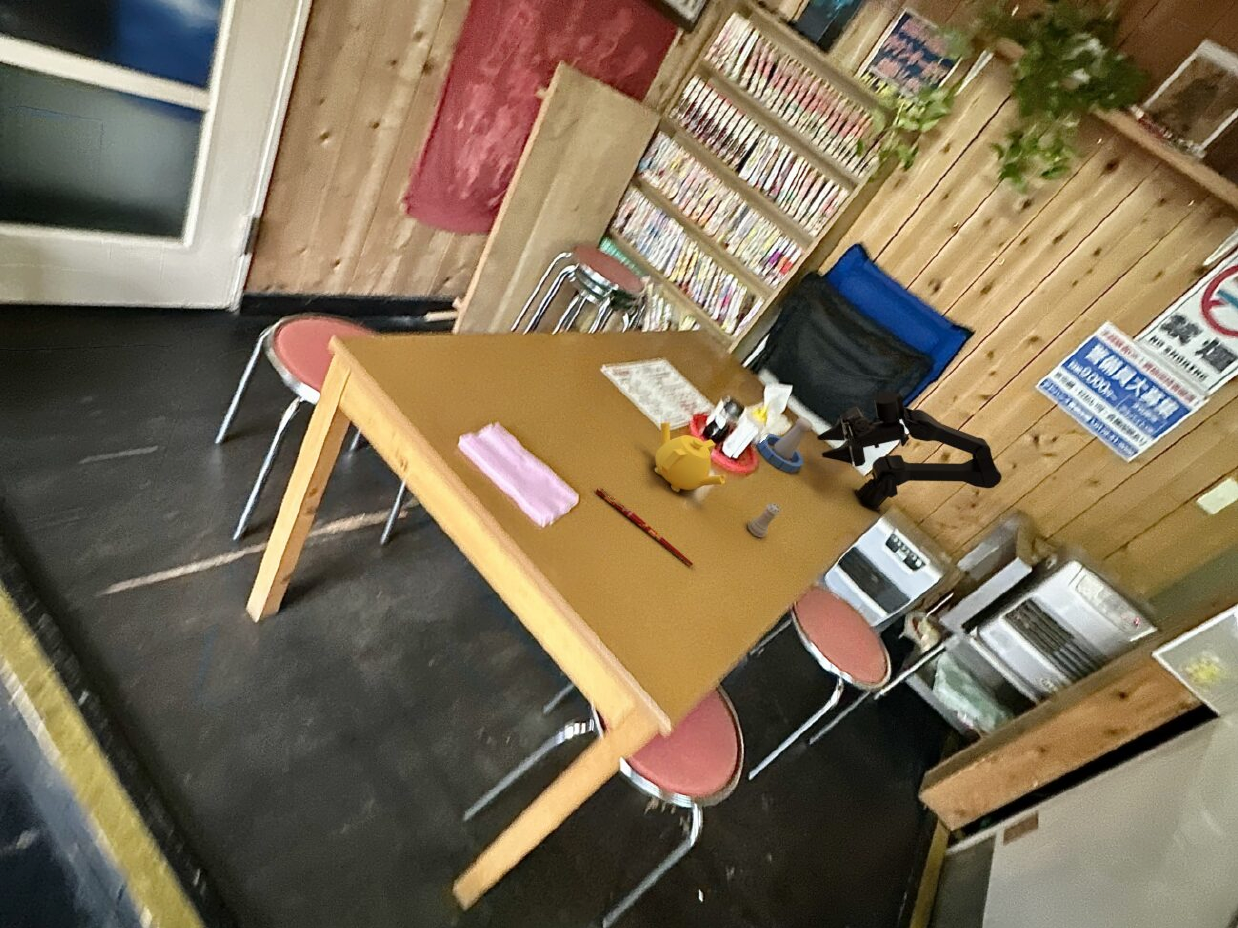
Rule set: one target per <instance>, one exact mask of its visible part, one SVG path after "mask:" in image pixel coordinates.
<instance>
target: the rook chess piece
mask: <svg viewBox="0 0 1238 928" xmlns="http://www.w3.org/2000/svg"><path fill="white" fill-rule="evenodd" d="M780 511H781V508H780V505H778V504H777V503H776V502H770V503H768V504H767V505H766V509H764V510H763V512H762V513H761V514H760V516H758V517H756V518H753V519H752V520H750V522H749V523H748V524H747V529H748V532H750V533H751V535H753V536H754V537H756V538H763V537H765V535H766V534H767V533H768V529H769V526H770V524H771V522H772V521H773V520H774V519H775V518H776V516H779V515H780Z"/></svg>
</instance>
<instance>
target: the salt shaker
mask: <svg viewBox="0 0 1238 928" xmlns="http://www.w3.org/2000/svg"><path fill="white" fill-rule="evenodd" d="M812 429H813V423H812V422H811V421H810V419H808V418H806V417H804V416H802V417H798V418H797V420H796V422H795V425H794V426H793V427H792V428H791V429H789V431H787V432H786V433H785V434H784V435H783V436H781V439H780V440H779V441H777V442H776V443H775V445H773V449H772V450H773V451H774V453H775V454H777V455H778V456H780V457H781V458H782V459H784V460H786V461H789V460H792V459H791V458H792V457H793V455H794V453H795V451H796V449H797V450H798V447H799V445H800V444H801V442H802V440H803V438H804V436H805V435H806V433H810V431H811V430H812Z"/></svg>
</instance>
